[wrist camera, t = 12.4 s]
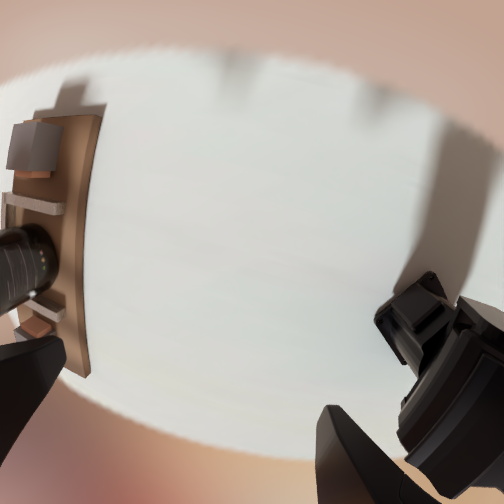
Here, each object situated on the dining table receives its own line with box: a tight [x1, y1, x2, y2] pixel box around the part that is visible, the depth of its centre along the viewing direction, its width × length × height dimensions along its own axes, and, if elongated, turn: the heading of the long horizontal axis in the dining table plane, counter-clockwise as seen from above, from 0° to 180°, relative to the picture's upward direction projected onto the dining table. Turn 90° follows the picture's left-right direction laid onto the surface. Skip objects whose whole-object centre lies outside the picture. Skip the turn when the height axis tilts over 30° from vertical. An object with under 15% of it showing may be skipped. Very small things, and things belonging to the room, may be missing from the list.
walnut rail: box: [1, 115, 102, 378], centre depth 19 cm, size 26×11×5 cm, turn 168°
